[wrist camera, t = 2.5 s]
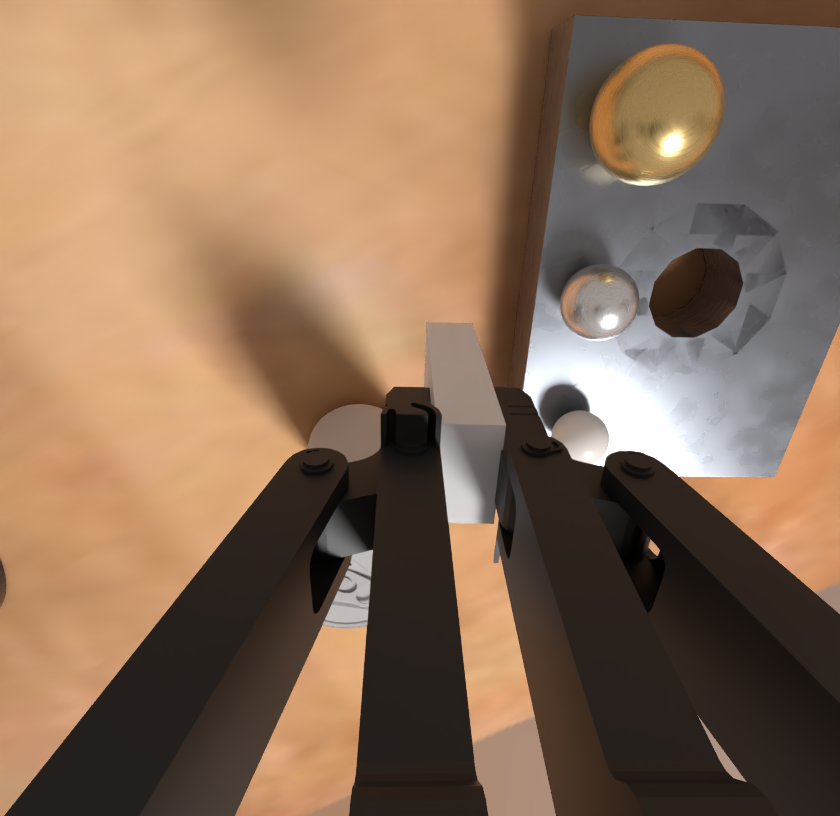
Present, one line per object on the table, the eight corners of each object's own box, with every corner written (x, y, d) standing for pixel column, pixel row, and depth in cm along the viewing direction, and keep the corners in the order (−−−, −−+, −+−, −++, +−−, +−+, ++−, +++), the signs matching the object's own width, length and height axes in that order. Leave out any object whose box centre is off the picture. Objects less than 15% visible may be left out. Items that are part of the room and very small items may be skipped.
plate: (501, 443, 34) (511, 475, 31) (551, 29, 24) (574, 15, 21) (741, 445, 35) (774, 476, 32) (891, 44, 25) (962, 33, 21)
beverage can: (339, 380, 32) (309, 508, 21) (430, 426, 33) (444, 566, 23) (294, 458, 34) (247, 607, 24) (381, 497, 36) (374, 652, 25)
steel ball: (546, 325, 27) (566, 351, 24) (557, 255, 25) (579, 273, 22) (614, 326, 27) (642, 353, 24) (629, 257, 25) (661, 275, 22)
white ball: (541, 446, 30) (555, 477, 28) (549, 400, 29) (564, 428, 26) (592, 447, 30) (611, 478, 28) (603, 401, 29) (623, 428, 26)
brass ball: (565, 178, 24) (602, 190, 19) (584, 49, 21) (631, 30, 17) (670, 182, 24) (729, 194, 20) (701, 54, 22) (775, 37, 17)
